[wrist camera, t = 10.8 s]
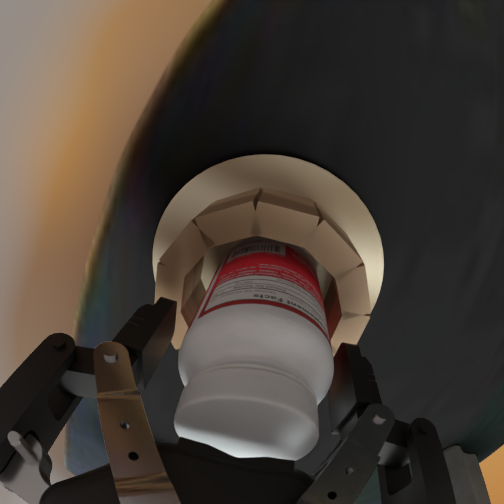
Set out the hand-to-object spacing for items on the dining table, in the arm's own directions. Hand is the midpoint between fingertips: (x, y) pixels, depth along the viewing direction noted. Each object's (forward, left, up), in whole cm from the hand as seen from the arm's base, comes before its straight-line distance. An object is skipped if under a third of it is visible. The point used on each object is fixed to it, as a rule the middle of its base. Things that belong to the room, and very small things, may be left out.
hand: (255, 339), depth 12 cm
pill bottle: (0, 0, -6) cm, 6 cm away
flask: (+25, +38, -7) cm, 46 cm away
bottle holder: (0, 0, -7) cm, 7 cm away
